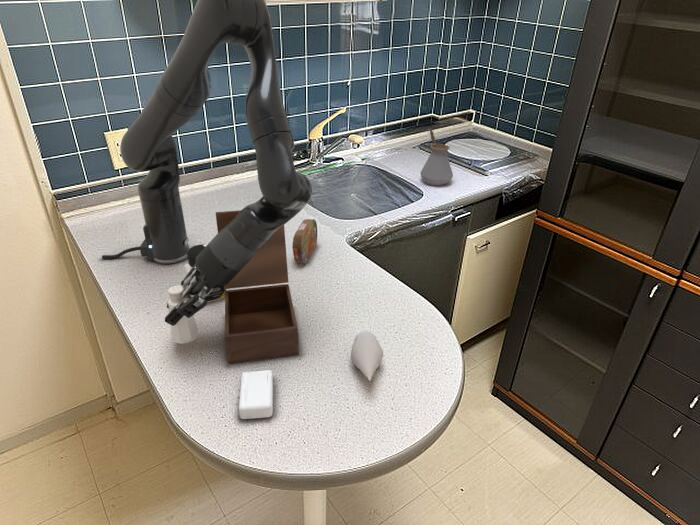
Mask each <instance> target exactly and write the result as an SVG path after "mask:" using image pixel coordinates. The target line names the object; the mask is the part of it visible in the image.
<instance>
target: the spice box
mask: <svg viewBox="0 0 700 525" xmlns="http://www.w3.org/2000/svg"><path fill="white" fill-rule="evenodd" d="M224 338H225V345H226V352H227V358H228V359H227V360H228V365H232V364H233V365H234V364H240V363H247V362H255V361H262V360H269V359H276V358H284V357H293V356H299V355H300V347H299V328H298V322H297V317H296V312H295V307H294V304H293V299H292V294H291V288H290V284H289V283H282V284H273V285H263V286H254V287H244V288H234V289H226V291H225V298H224Z"/></svg>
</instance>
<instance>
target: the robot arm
mask: <svg viewBox="0 0 700 525" xmlns="http://www.w3.org/2000/svg"><path fill="white" fill-rule="evenodd" d="M222 44H228V45H229V44H230V45H237V46H243V47H244V50H245V52H246V54H247V57H248V60H249V64H250V80H249V85H248V89H247V93H246V98H245V102H244V115H245V119H246V120H245V121H246V124H247V129H248V132H249V135H250V138H251V141H252V142H251V143H252V145H253V148H254V151H255V157H256V158H255V159H256V160H255V162H256V171H257V172H256V173H257V180H258V181H257V182H258V185H259V189H260V192H261V194H262V197H260V198H259V199H258V200H257V201H255V202H253V203H249V204H248V205H246V206H244V207H243V208H242V209H240V210H241V211H240V212H239V213H238V214H237V215H236V217H235V218H234V219H233V220H232V221H231V222H230V223H229V224H228V225H227V226H226V227H225V228H223V229H222V230H221V231H220V232H219V233H218V232H217V234H216V235H215V236H213V238H212V239H211V241H210V242H208V244H207V246H206V247H205V248H204V249H203V250H202V251H201V252H200V253H199V255H198V256H197V257H196V263H195V265H194V266H193V267H192V269H191V270H190V271H189V273H188V274H187V275H186V274H185V276H184V278H183V279H182V280H181V281H180V286H182V287H183V288H184V292H183V293H182V297H183V298H182V299H181V300H180V301H179V303H178V304H177V305H176V306H175V307H174V308H173V309H172V310H171V312H170V313H169V312H168V314H167V315H166V316H165V317H164V322H165V323H166V324H168V325H170V326H171V325H172V326H174V325H176V323H177V322H178V321H179V320H180V319H181V318H182V317H183V316H186V317H187V318H190V317H191V316H194V315H196V314H197V313H198V312H200V311H201V310H202V309H204V308H205V307H206V306H207V305H208V303H209V302H208V301H207V300H205V299H204V298H205V296H206V295H209V293H210V292H211V291H212V289H213V286H214V285H226V284H228V283H229V282H230V281H231V280H232V279H233V278H234V277H235V276H236V275H237V274H238V273H239V272H240V270H241V269H242V268H243V267H244V266H245V265H246V264H247V263H248V262H249V261H250V260H251V259H252V257H253V256H254V255H255V253H256V252H257V251H258V250H259V249H260V248H261V247H262V245H263V244H264V243H265V242H266V241H267V240H268V239H269V238H270V237H271V236H272V234H273V233H274V232H275V231H276V230H278V229H279V228H280V227H282V226H283V225H284V226H285V225H286V224H287V223H288V222H289V221H291V220H292V219H293V218H295V217H296V216H297V215H298V214H299V213H300V212H301V211H302V210H304V209H305V207H306V206H307V205H308V203H309V201H310V200H311V197H312V194H313V193H312V192H313V186H312V183H311V181H310V179H309V177H308V176H306V175H305V174H303V173H302V172H299V171H297V170H296V168H295V163H294V159H293V152H294V150H295V141H294V135H293V133H292V129H291V126H290V122H289V119H288V116H287V112H286V109H285V105H284V101H283V96H282V92H281V86H280V82H279V73H278V64H277V57H276V50H275V42H274V34H273V26H272V21H271V16H270V12H269V8H268V5H267V2H266V0H197V1H196V4H195V6H194V9H193V11H192V13H191V15H190V18H189V21H188V24H187V26H186V28H185V31H184V34H183V36H182V39H181V40H180V43H179V45H178V46H177V48H176V50H175V52H174V54H173V56H172V58H171V59H170V61H169V63H168V65H167V66H166V68H165V70H164V71H163V73H162V74H161V76H160V78H159V79H158V81H157V84H156V85H155V88H154V90H153V92H152V93H151V95H150V96H149V98H148V100H147V102H146V103H145V105H144V107H143V109H142V110H141V112H140V114H139V115H138V116H137V118H136V119H135V120H134V122H133V123H132V124H131V126H130V127H129V128H128V129H127V130H126V132H125V133H124V134H123V136H122V138H121V141H120V145H119V146H120V147H119V151H120V156H121V159H122V161H123V163H124V164H125V166H126V167H127V168H129V169H130V170H132V171H134V172H138V173H142V172H143V173H145V172H148V173H147V175H145V177H144V178H143V179H141V181H140V182H139V183H138V185H137V192H138V196H139V201H140V206H141V210H142V214H143V215H142V216H143V219H144V220H143V221H144V223H145V224H144V226H143V227H142V231H143V235H144V240H143V241H142V242H141V244H140V245H139V246H135V247H130V248H127V249H124V250H122V251H121V252H118V253H116V254H111V255H110V254H102V255H101V258H102V259H104V260H105V259H108V260H110V259H111V260H113V259H118V258H120V257H122V256H125V254H127V253H132V252H135V251H139V252H140V256H141V257H149V258H148V259H149V261H150V262H156V263H157V264H162V265H171V264H175V263H179V262H182V261H185V260H186V259H188V257H187V251H188V250H189V249H190V244H189V241H190V240H189V237H188V235H187V234H188V233H187V228H186V222H185V216H184V211H183V206H182V199H181V193H180V187H179V186H180V183H181V182H180V181H181V175H180V166H179V158H178V150H177V145H176V142H175V139H174V136H173V134H175V133H176V132H178V131H179V130H180V129H183V127H184V126H186V125H187V124H189V123H190V122H191V121H192V120H193V119H195V117H197V115H198V113H199V112H200V111H201V110H202V108H203V106H204V105H205V103H206V102H207V100H208V99H209V97H210V95H211V92H212V79H211V73H210V69H209V60H210V59H211V57H212V54H213V53H214V52H215V50H216V49H217V48H218V47H219V46H220V45H222ZM185 301H186V302H185ZM184 302H185V303H184ZM166 308H167V309H168V310H169V304H168V303H166Z"/></svg>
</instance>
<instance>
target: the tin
mask: <svg viewBox="0 0 700 525" xmlns="http://www.w3.org/2000/svg"><path fill="white" fill-rule="evenodd" d="M317 224H318V223H317V221H316V219H315V218H312V219H311V218H306V219H304V220H302V222H301V223H300V225H299V226H298V228H297V230H296V231H295V233H294V235H293V239H292V246H291V247H292V253H293V254H292V255H293V261H294V262H295V263H297V264H308V262H309V260H310V258H311V256H312V255H313V253H314V251H315V249H316V247H317V243H318V225H317Z"/></svg>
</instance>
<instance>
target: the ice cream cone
mask: <svg viewBox="0 0 700 525" xmlns="http://www.w3.org/2000/svg"><path fill="white" fill-rule="evenodd" d="M383 357H384V350H383V348H382V346H381V344H380V342H379V341H378V339H377V337H376V335H375V334H374V333H372V332H371V331H367V330H364V331H363V330H362V331H360V332H358V333H357V334H356V335H355V337H354V340H353V344H352V347H351V350H350V359H351V361H352V363H353V364H354V365H355V367H357V369H358V370H359V371H360V372H361V373H362V374H363V375H364V377H365V378H366V379H367V380H368V381H369V382H371V380H372V378H373V376H374V375H375V372H376V370H377V369H378V367H379V365H380V364H381V362H382V360H383Z"/></svg>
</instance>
